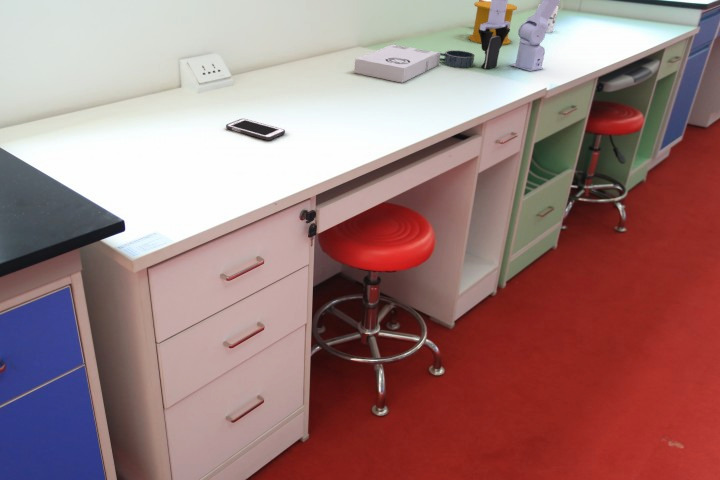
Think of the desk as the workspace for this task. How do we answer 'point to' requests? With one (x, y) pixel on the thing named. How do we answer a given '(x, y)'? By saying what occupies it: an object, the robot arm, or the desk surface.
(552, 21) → the ink box
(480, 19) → the spool
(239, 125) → the cell phone
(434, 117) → the desk surface
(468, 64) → the gray segmented ring
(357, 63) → the power supply unit
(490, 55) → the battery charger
